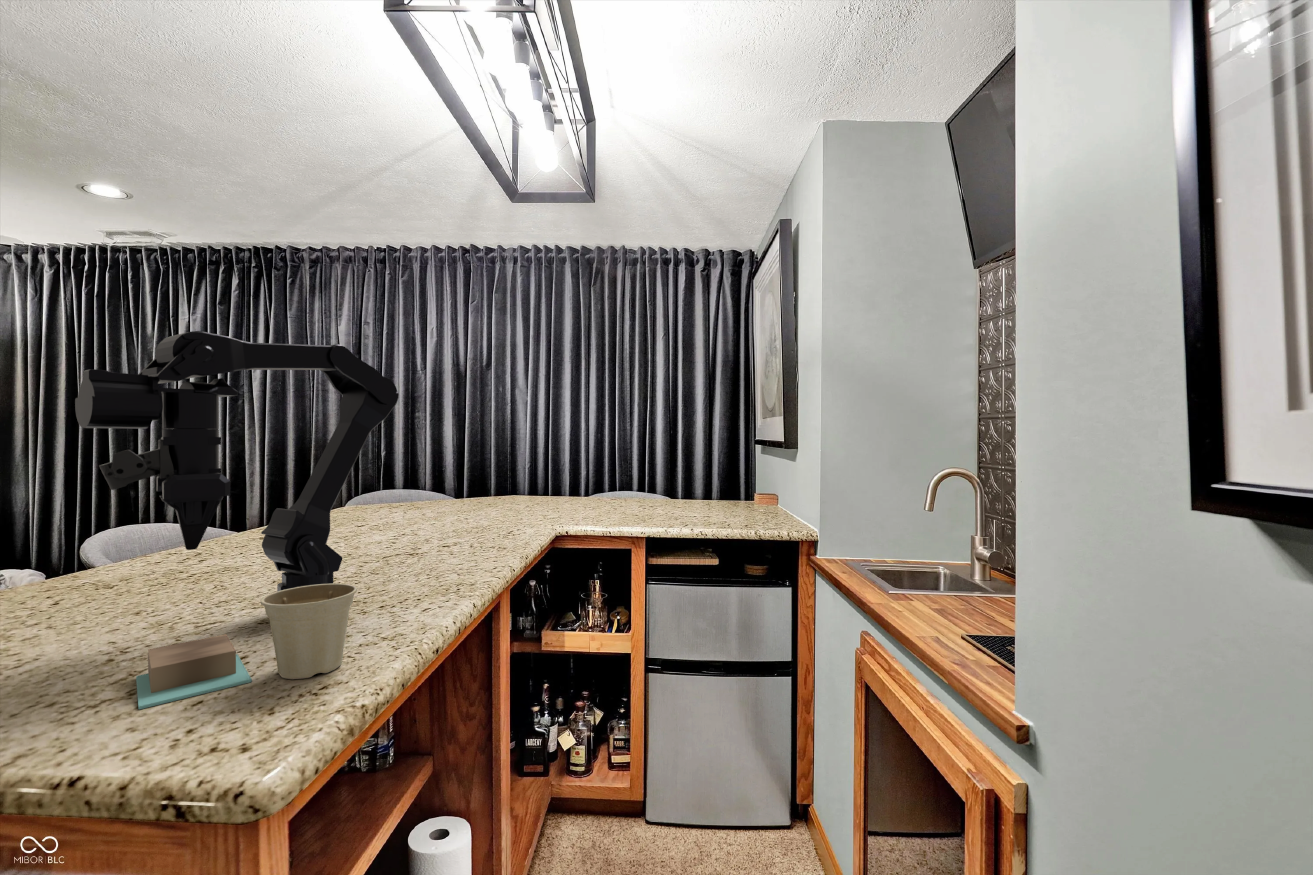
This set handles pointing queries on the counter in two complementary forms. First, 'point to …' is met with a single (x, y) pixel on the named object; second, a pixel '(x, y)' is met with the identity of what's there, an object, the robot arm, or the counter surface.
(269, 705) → the counter surface
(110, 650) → the counter surface
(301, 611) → the flower pot
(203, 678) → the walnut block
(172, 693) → the teal mat
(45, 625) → the counter surface
